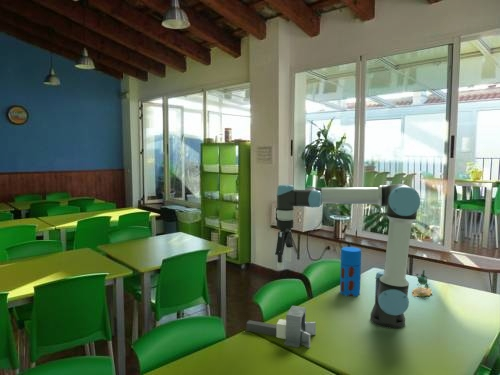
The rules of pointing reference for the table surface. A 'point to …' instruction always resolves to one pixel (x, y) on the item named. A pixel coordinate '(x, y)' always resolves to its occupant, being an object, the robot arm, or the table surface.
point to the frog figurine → (420, 290)
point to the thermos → (350, 271)
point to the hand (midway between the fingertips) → (284, 265)
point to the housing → (298, 328)
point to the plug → (268, 328)
